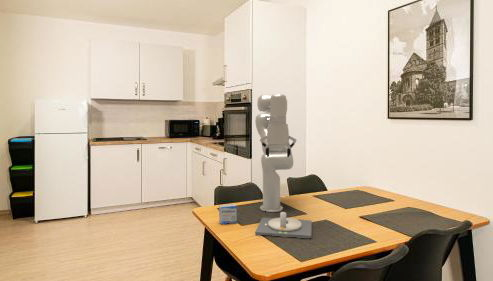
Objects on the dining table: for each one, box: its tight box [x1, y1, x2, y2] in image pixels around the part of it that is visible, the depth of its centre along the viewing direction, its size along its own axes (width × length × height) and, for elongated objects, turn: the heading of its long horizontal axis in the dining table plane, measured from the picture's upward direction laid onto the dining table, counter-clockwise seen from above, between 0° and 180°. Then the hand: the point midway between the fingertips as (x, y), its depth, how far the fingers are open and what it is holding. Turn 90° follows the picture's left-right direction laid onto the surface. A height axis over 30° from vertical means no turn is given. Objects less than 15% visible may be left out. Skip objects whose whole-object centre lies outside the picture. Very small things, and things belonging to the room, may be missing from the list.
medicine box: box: [218, 203, 238, 225], centre depth 157 cm, size 8×4×9 cm, turn 105°
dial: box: [268, 211, 301, 231], centre depth 147 cm, size 17×15×8 cm
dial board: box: [254, 217, 313, 239], centre depth 148 cm, size 20×24×2 cm
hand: (278, 156), depth 154 cm, fingers open, 9 cm apart
